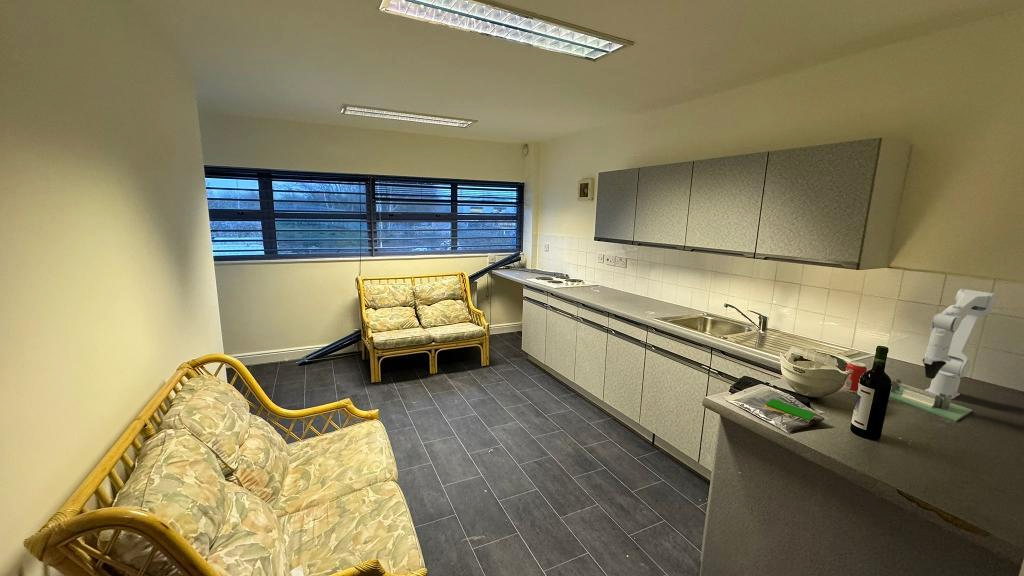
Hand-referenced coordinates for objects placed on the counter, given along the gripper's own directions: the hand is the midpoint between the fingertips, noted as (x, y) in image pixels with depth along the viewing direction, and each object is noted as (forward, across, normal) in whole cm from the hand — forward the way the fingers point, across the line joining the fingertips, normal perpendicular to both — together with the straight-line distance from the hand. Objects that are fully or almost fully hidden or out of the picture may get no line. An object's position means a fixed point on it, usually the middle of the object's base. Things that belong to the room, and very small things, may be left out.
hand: (929, 377), depth 155 cm
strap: (+6, -1, +2) cm, 7 cm away
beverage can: (+10, -15, +18) cm, 25 cm away
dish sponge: (+11, -59, +19) cm, 63 cm away
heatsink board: (+10, -1, +1) cm, 10 cm away
